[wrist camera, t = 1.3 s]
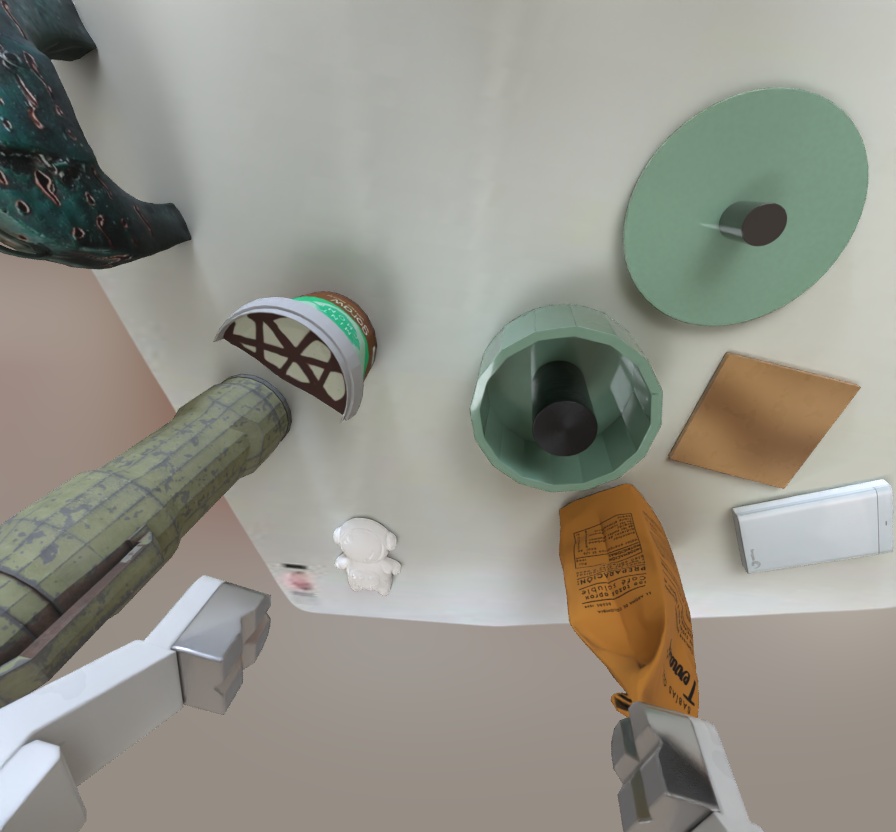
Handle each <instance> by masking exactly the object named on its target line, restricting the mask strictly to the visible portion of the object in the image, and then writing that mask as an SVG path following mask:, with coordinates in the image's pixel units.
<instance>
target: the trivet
mask: <svg viewBox="0 0 896 832" xmlns="http://www.w3.org/2000/svg"><path fill="white" fill-rule="evenodd" d="M860 388H861V387H860V386H858V385H857V384H853V383H849V382H845V381H841V380H837V379H833V378H829V377H825V376H821V375H817V374H813V373H809V372H805V371H801V370H797V369H793V368H789V367H785V366H781V365H777V364H773V363H769V362H765V361H761V360H757V359H753V358H749V357H745V356H741V355H737V354H733V353H729V352H727V353H726V354H725V356H724V358H723V360H722V361H721V363H720V365H719V367H718V369H717V370H716V372H715V374H714V376H713V377H712V379H711V381H710V383H709V385H708V386H707V388H706V390H705V392H704V393H703V395H702V397H701V399H700V401H699V402H698V404H697V406H696V408H695V410H694V411H693V413H692V415H691V417H690V418H689V420H688V422H687V424H686V426H685V427H684V429H683V431H682V433H681V435H680V436H679V438H678V440H677V442H676V443H675V445H674V447H673V449H672V451H671V452H670V454H669V458H670V459H672V460H676V461H680V462H684V463H687V464H691V465H695V466H699V467H703V468H707V469H710V470H714V471H718V472H722V473H726V474H729V475H733V476H737V477H741V478H745V479H749V480H752V481H756V482H760V483H764V484H768V485H771V486H775V487H779V488H783V489H784V488H785V487H786V486H787V484H788V483H789V482H790V480H791V479H792V478H793V476H794V475H795V474H796V473H797V471H798V470H799V469H800V467H801V466H802V465H803V463H804V462H805V461H806V459H807V458H808V457H809V455H810V454H811V453H812V451H813V450H814V449H815V447H816V446H817V445H818V443H819V442H820V441H821V439H822V438H823V437H824V436H825V434H826V433H827V432H828V430H829V429H830V428H831V426H832V425H833V424H834V422H835V421H836V420H837V418H838V417H839V416H840V414H841V413H842V412H843V410H844V409H845V408H846V406H847V405H848V404H849V402H850V401H851V400H852V398H853V397H854V396H855V395H856V393H857V392H858V391H859V389H860Z"/></svg>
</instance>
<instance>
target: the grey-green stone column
mask: <svg viewBox="0 0 896 832" xmlns="http://www.w3.org/2000/svg"><path fill="white" fill-rule="evenodd" d="M290 426H291V413H290V409H289V407H288V405H287V402H286V400H285V398H284V397H283V396H282V395H281V394H280V392H279V391H278V390H277V389H276V388H275V387H273V386H272V385H271V384H269V383H268V382H267V381H265V380H263V379H260V378H258V377H256V376H252V375H244V374H240V375H236V376H231V377H229V378H228V379H226V380H225V381H224V382H222V383H221V384H218V385H214V386H212V387H211V388H209V389H208V390H206V391H205V392H203V393H202V394H200V395H198V396H197V397H195V398H194V399H192V400H191V401H190V402H188V403H187V404H185V405H184V406H182V407H181V408H179V410H178V411H177V413H176V415H175V416H174V418H173V420H172V421H170V422H169V423H167V424H166V425H164V426H163V427H161V428H160V429H158V430H157V431H156V432H154V433H152V434H151V435H149V436H148V437H146V438H145V439H144V440H142V441H140V442H139V443H137V444H136V445H134V446H133V447H131V448H130V449H128V450H127V451H125V452H124V453H123V454H121V455H119V456H118V457H116V458H115V459H113V460H112V461H110V462H109V463H107V464H106V465H104V466H103V467H101V468H100V469H97V470H93V471H88V472H83V473H80V474H78V475H76V476H75V477H73V478H72V479H70V480H69V481H67V482H66V483H64V484H63V485H61V486H60V487H58V488H56V489H55V490H53V491H52V492H50V493H49V494H47V495H46V496H44V497H42V498H41V499H39V500H38V501H37V502H35V503H33V504H32V505H30V506H29V507H27V508H25V509H24V510H22V511H21V512H19V513H18V514H16V515H15V516H13V517H12V518H10V519H8V520H7V521H5V522H4V523H3V524H1V525H0V709H1V708H3V707H5V706H6V705H8V704H10V703H12V702H14V701H16V700H18V699H20V698H22V697H24V696H26V695H28V694H30V693H31V692H33V691H34V690H36V689H37V688H39V687H40V686H42V685H43V684H45V683H46V682H47V681H49V680H50V679H51V678H52V677H53V676H54V675H55V674H56V673H57V672H58V671H59V670H60V669H61V668H62V666H63V665H64V664H65V663H66V662H67V661H68V660H69V659H70V658H71V657H72V656H73V655H74V654H75V653H76V652H77V651H78V650H79V649H80V648H81V647H82V646H83V645H84V643H85V642H87V641H88V639H89V638H90V637H91V636H92V635H93V634H94V633H95V632H96V631H97V630H98V629H99V628H100V627H101V626H102V625H103V624H104V623H105V622H106V621H107V620H108V619H109V618H111V617H113V616H114V615H116V614H117V613H119V612H120V611H121V610H122V609H123V607H124V606H125V605H126V604H127V603H128V602H129V601H130V600H131V599H132V598H133V597H134V596H135V595H136V594H137V593H138V592H139V591H140V590H141V588H143V586H144V585H145V584H146V583H147V582H148V581H149V580H150V579H151V578H152V577H153V576H154V575H155V574H156V573H157V572H158V571H159V570H160V569H161V568H162V567H163V566H164V564H165V563H166V562H167V561H168V560H169V559H170V558H171V557H172V556H173V554H174V553H175V551H176V550H177V548H178V546H179V543H180V540H181V538H182V537H183V536H184V535H185V534H186V533H187V532H188V531H189V530H190V529H191V528H192V527H193V526H194V525H195V524H196V522H197V521H198V520H199V519H200V518H201V517H202V516H203V515H204V514H205V513H206V512H207V511H208V510H209V509H210V508H211V507H212V506H213V505H214V504H215V503H216V502H217V501H218V500H219V499H220V498H221V496H223V495H224V494H225V493H226V492H227V491H228V490H229V489H230V488H231V487H232V486H233V485H234V484H235V483H236V482H237V481H238V480H239V478H242V477H244V476H246V475H249V474H251V473H253V472H254V471H255V470H256V469H257V468H258V467H259V466H260V465H261V464H262V463H263V462H264V461H265V460H266V459H267V458H268V456H269V455H270V454H271V453H272V452H273V451H274V450H275V448H276V447H277V446H278V444H279V442H280V441H282V440H283V439H284V437H285V436H286V435H287V433H288V432H289V430H290Z"/></svg>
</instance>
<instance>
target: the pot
mask: <svg viewBox="0 0 896 832" xmlns="http://www.w3.org/2000/svg"><path fill="white" fill-rule="evenodd" d="M558 360H561V361H567V362H570V363H572V364H574V365H576V366H577V367H578V368H579V369H580V370H581V372H582V373H583V375H584V378H585V382H586V385H587V389H588V392H589V396H590V399H591V403H592V406H593V409H594V413H595V416H596V420H597V424H598V432H597V436H596V438H595V440H594V442H593V443H592V444H591V445H590V446H589V447H588V448H587V449H586V450H584V451H583V452H581V453H579V454H576V455H572V456H556V455H552V454H550V453H547V452H546V451H544V450H543V449H541V448H540V447H539V446H538V444H537V443H536V441H535V440H534V437H533V433H532V387H531V384H532V379H533V376H534V374H535V373H536V371H537V370H538V369H539V368H540V367H541V366H543V365H544V364H546V363H548V362H552V361H558ZM662 396H663V392H662V389H661V387H660V385H659V383H658V381H657V378H656V376H655V374H654V372H653V370H652V368H651V366H650V364H649V362H648V360H647V358H646V357H645V355H644V354H643V352H642V351H641V349H640V348H639V346H638V345H637V344H636V342H635V341H634V339H633V338H632V336H631V335H630V333H629V332H628V331H626V330H625V329H624V328H623V327H621V326H620V325H619V324H618V323H617V322H616V321H615V320H613V319H612V318H610V317H609V316H607V315H606V314H605V313H603V312H600V311H597V310H594V309H591V308H588V307H585V306H579V305H572V304H558V305H549V306H544V307H540V308H537V309H533V310H531V311H529V312H526V313H524V314H522V315H520V316H519V317H517V318H516V319H514V320H512V321H511V322H510V323H508V324H507V325H505V326H504V327H503V329H502V330H501V331H500V332H499V333H498V334H497V335H496V336H495V338H494V339H493V340H492V342H491V343H490V345H489V346H488V348H487V349H486V350H485V353H484V356H483V360H482V364H481V368H480V372H479V375H478V379H477V383H476V387H475V391H474V395H473V398H472V402H471V406H470V414H471V420H472V425H473V431H474V436H475V440H476V442H477V443H478V445H479V446H480V448H481V449H482V451H483V452H484V454H485V455H486V457H487V458H488V459H489V461H490V462H491V464H492V465H493V466H494V467H496V468H497V469H499V470H500V471H501V472H503V473H504V474H506V475H507V476H509V477H510V478H512V479H513V480H515V481H516V482H518V483H519V484H523V485H526V486H530V487H534V488H538V489H541V490H545V491H549V492H563V491H584V490H588V489H591V488H594V487H596V486H599V485H602V484H604V483H607V482H609V481H612V480H615V479H617V478H620V477H621V476H622V475H623V474H624V473H626V472H627V471H628V470H629V469H630V468H632V467H633V466H634V465H635V464H636V463H638V462H639V461H640V460H641V459H642V458H644V457H645V455H646V453H647V452H648V450H649V448H650V446H651V444H652V442H653V440H654V438H655V436H656V435H657V433H658V431H659V429H660V427H661V424H662Z"/></svg>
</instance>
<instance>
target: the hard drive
mask: <svg viewBox="0 0 896 832" xmlns="http://www.w3.org/2000/svg"><path fill="white" fill-rule="evenodd" d="M732 513H733V519H734V524H735V529H736V534H737V540H738V545H739V550H740V555H741V560H742V565H743V567H744V569H745V570H746V572H747V573H748V574H751V573H758V572H764V571H771V570H778V569H784V568H791V567H798V566H805V565H812V564H818V563H825V562H832V561H838V560H845V559H852V558H858V557H865V556H871V555H877V554H884V553H889V552H892V551H893V492H892V488H891V486H890V485H889V484H888V483H887V482H886V481H885V480H884V479H881V480H876V481H870V482H866V483H860V484H855V485H850V486H845V487H840V488H834V489H829V490H824V491H819V492H814V493H809V494H804V495H798V496H793V497H788V498H783V499H778V500H773V501H768V502H762V503H757V504H752V505H747V506H742V507H737V508H732Z"/></svg>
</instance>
